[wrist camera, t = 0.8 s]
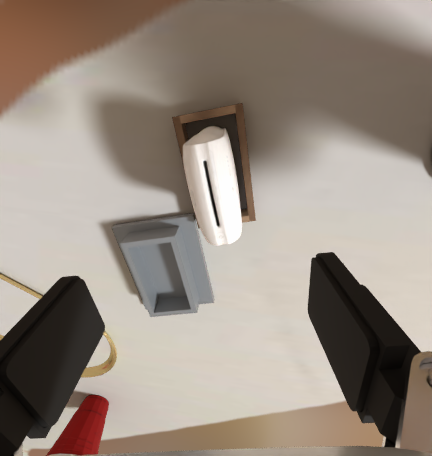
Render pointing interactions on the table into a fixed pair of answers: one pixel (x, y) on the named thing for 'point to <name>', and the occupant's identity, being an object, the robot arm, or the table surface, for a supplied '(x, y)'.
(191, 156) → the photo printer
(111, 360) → the gold oval ring
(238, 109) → the wooden picture frame
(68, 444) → the plastic cup
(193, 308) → the docking base
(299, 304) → the table surface
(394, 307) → the table surface
